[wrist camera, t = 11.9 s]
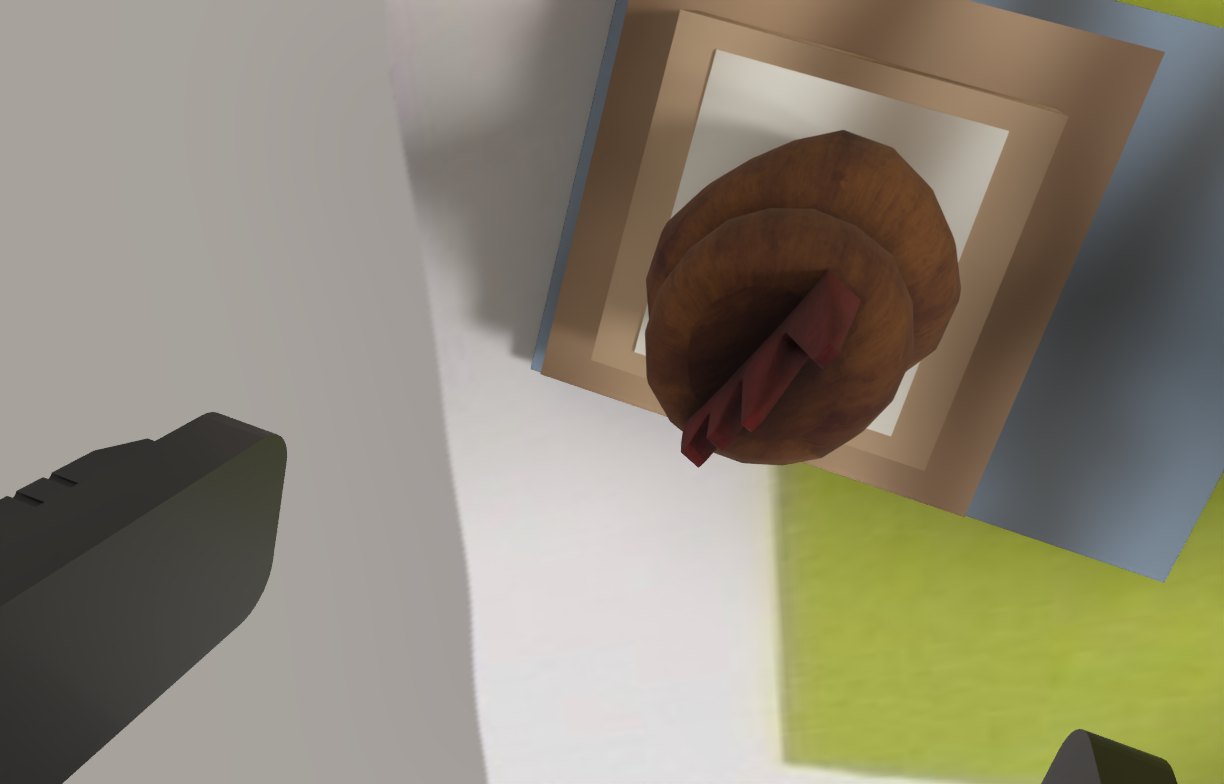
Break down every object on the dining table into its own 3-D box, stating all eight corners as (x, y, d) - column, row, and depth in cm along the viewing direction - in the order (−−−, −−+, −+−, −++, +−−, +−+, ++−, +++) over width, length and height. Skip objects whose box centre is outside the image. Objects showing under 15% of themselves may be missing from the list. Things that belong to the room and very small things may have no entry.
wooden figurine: (891, 79, 26) (874, 142, 13) (983, 284, 27) (1061, 547, 14) (656, 200, 29) (431, 361, 15) (749, 383, 30) (616, 689, 16)
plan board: (1414, 79, 29) (1537, 93, 23) (1157, 568, 35) (1205, 672, 29) (651, -116, 32) (598, -145, 26) (539, 360, 38) (476, 418, 32)
